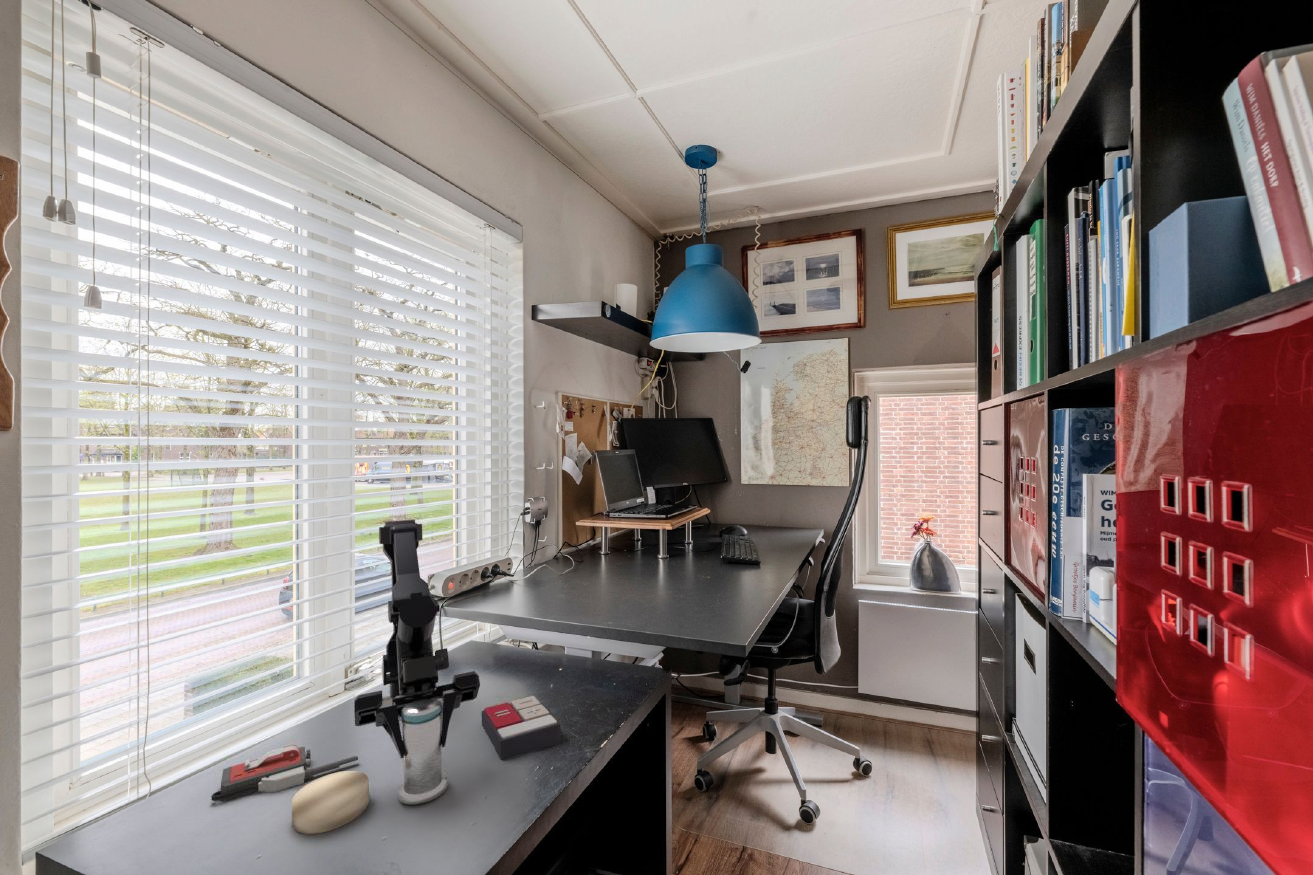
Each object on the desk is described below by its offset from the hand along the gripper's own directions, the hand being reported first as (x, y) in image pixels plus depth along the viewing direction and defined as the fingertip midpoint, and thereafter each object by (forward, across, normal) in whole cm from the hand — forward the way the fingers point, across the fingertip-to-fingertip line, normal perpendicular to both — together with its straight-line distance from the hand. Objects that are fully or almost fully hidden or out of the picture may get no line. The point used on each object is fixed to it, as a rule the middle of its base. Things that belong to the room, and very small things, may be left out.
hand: (423, 751), depth 86 cm
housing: (+4, 0, +6) cm, 7 cm away
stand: (+2, -12, +8) cm, 15 cm away
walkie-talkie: (-7, -19, +18) cm, 28 cm away
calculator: (-3, +18, +14) cm, 23 cm away
